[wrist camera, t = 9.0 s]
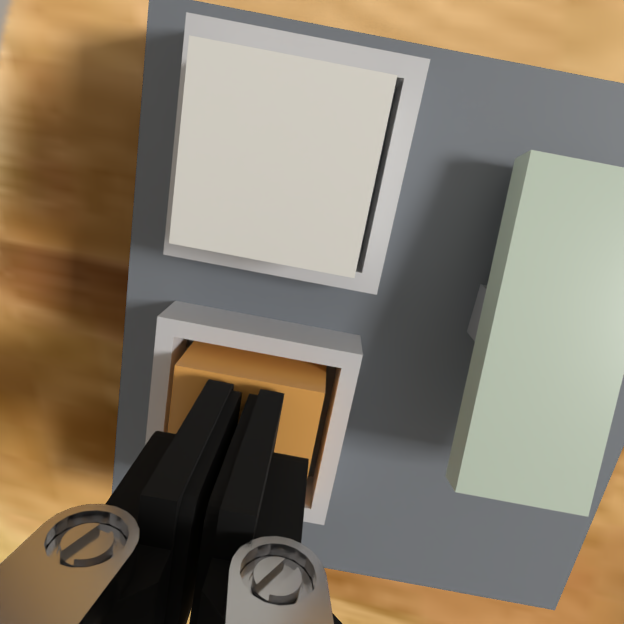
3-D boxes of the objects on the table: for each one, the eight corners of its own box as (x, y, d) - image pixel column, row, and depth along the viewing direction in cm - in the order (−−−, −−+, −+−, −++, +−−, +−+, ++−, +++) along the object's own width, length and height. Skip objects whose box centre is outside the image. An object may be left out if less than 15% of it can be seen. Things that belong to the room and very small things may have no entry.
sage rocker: (569, 499, 11) (588, 516, 10) (445, 476, 11) (455, 492, 10) (645, 183, 11) (672, 176, 10) (515, 158, 10) (531, 149, 10)
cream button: (350, 256, 10) (354, 277, 9) (199, 228, 10) (168, 243, 8) (385, 92, 9) (397, 75, 8) (219, 60, 9) (189, 35, 8)
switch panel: (518, 535, 17) (575, 652, 13) (147, 466, 17) (88, 562, 13) (671, 121, 13) (821, 103, 9) (190, 28, 13) (124, -32, 9)
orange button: (304, 467, 13) (298, 518, 11) (185, 445, 13) (160, 493, 11) (326, 357, 12) (325, 393, 10) (199, 333, 12) (175, 365, 10)
